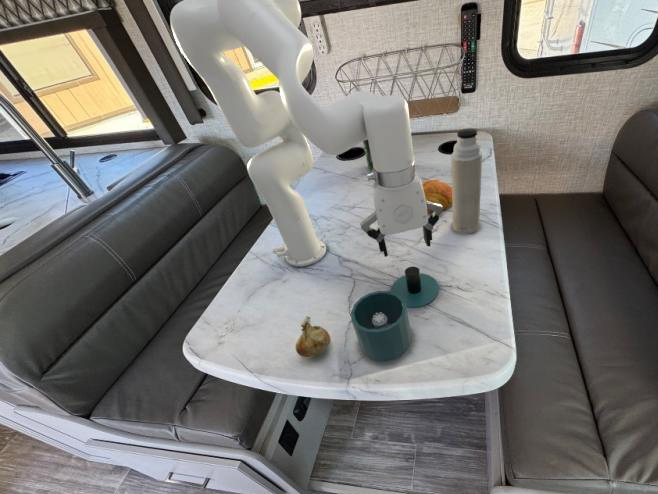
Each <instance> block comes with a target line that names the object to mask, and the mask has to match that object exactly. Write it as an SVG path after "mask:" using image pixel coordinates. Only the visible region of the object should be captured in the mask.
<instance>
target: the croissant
mask: <svg viewBox="0 0 658 494" xmlns="http://www.w3.org/2000/svg"><path fill="white" fill-rule="evenodd" d="M421 182H422V185H423V189H424V194H425V200H426V201H430V202H434V203H438V204H441V205H442V207H443V210H442V211H445V210H448V208H450V207H452V206H453V205H452V185H449V183H446V182H444V181H441V180H439V179H428V180H425V181H421ZM433 212H434V211H433V210H429V209H427V213H433Z"/></svg>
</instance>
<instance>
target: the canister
mask: <svg viewBox="0 0 658 494" xmlns="http://www.w3.org/2000/svg"><path fill="white" fill-rule="evenodd" d="M380 312H381V313H382V314H384V315H385V316H386V317H387V321H386V322H387V324H390V325H388V326H387V327H386V328H382V329H378V330H376V328H375V326H374V324H373V323H372V319H373V316H374V315H376V314H375V313H378V314H380ZM350 320H351V323H352V326H353V329H354V332H355V335H356V337H357V340H358V343H359V346H360V349H361V351H362V352H363V354H364V355H365V356H366V357H367V358H369V359H370V360H373V361H376V362H383V363H384V362H390V361H394V360H397V359H399V358H400V357H401V356H403V355H405V353H406V352H407V351H408V350H409V348H410V347H411V343H412V332H411V327H410V320H409V314H408V308H407V307H406V304H405V301H404V300H403V299H402V298H401V297H400V296H399V295H398V294H396V293H393V292H391V290H377V291H373V292H369V293H367V294H365V295H364V296H362V297H359V299H358V300H357V301H356V302H355V303H354V304H353V306H352V308H351V311H350Z"/></svg>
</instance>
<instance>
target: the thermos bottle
mask: <svg viewBox="0 0 658 494" xmlns="http://www.w3.org/2000/svg"><path fill="white" fill-rule="evenodd" d="M477 135H478V130H477V129H475V128H472V127H471V128H469V127H468V128H463V129H459V130H458V131H457V139H456V140H457V141H456V143H455V144H454V145H453V152H452V153H451V156H450V157H451V159H450V160H451V187H452V205H451V206H452V229H453V230H454V231H455V232H459V233H468V234H472V233H475V232H477V231H478V230H479V228H480V220H481V219H480V218H481V217H480V216H481V193H482V192H481V191H482V172H483V171H482V170H483V168H482V167H483V151H482V150H481V148H482V147H481V144H480V142H479V141H477V139H478V137H477Z"/></svg>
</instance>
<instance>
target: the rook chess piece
mask: <svg viewBox="0 0 658 494" xmlns="http://www.w3.org/2000/svg"><path fill="white" fill-rule="evenodd" d="M375 314H376V315H374V316H373V319H372V323H373V324H374V326H375V327H374V329H376V330H378V329H382V328H386V327H388V323H387V322H386V321H387V317H386V316H385V315H384V314H382V313H381V312H380V314H378V313H375Z"/></svg>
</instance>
